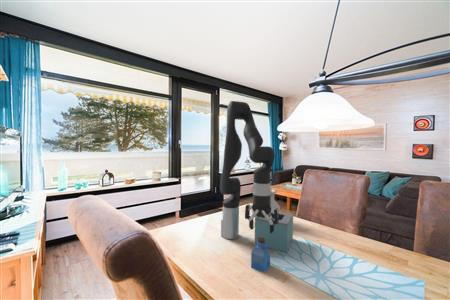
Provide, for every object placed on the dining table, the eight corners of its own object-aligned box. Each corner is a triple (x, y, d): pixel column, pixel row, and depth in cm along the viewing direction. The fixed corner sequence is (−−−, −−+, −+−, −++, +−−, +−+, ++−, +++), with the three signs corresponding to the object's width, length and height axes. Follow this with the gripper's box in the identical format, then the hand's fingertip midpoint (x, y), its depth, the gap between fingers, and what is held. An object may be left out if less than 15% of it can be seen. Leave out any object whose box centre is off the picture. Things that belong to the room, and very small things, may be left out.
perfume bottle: (269, 264, 90) (270, 237, 90) (265, 272, 85) (265, 243, 84) (256, 260, 93) (256, 234, 93) (251, 267, 88) (251, 239, 87)
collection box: (254, 244, 108) (254, 218, 107) (263, 232, 122) (264, 209, 122) (287, 252, 100) (287, 224, 100) (292, 238, 115) (293, 213, 114)
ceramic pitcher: (243, 220, 145) (241, 185, 143) (262, 212, 156) (261, 180, 154) (267, 231, 128) (265, 191, 125) (286, 221, 139) (285, 185, 137)
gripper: (280, 193, 88) (280, 230, 88) (249, 189, 95) (248, 224, 95) (276, 197, 81) (275, 237, 82) (242, 193, 88) (242, 230, 88)
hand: (261, 230), depth 88 cm, fingers open, 8 cm apart
